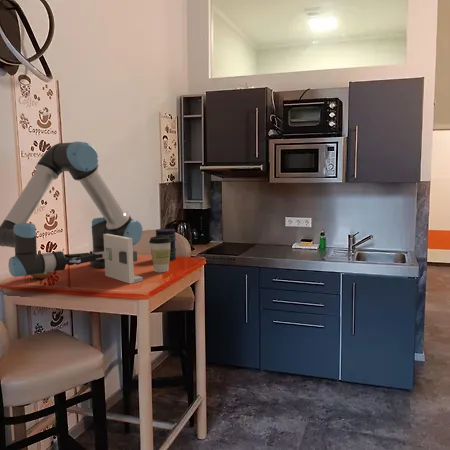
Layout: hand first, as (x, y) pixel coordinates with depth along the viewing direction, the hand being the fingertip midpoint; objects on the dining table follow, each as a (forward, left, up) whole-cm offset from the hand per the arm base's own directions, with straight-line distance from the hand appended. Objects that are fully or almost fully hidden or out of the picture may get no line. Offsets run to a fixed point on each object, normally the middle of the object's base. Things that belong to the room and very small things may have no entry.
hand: (108, 254), depth 197 cm
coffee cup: (+4, +23, -10) cm, 25 cm away
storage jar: (-18, +38, -10) cm, 43 cm away
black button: (+12, +4, -2) cm, 12 cm away
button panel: (+6, +4, -10) cm, 12 cm away
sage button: (0, +3, -2) cm, 4 cm away
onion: (-18, -23, -10) cm, 31 cm away
